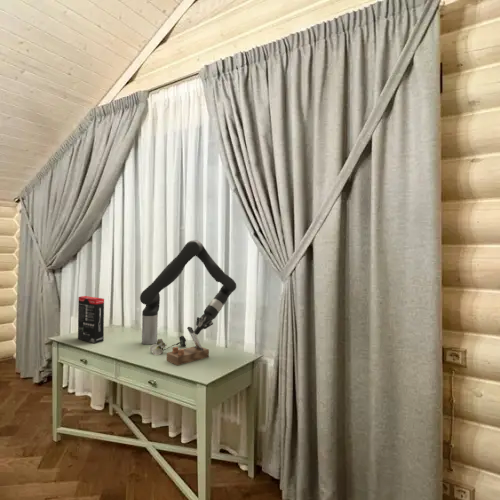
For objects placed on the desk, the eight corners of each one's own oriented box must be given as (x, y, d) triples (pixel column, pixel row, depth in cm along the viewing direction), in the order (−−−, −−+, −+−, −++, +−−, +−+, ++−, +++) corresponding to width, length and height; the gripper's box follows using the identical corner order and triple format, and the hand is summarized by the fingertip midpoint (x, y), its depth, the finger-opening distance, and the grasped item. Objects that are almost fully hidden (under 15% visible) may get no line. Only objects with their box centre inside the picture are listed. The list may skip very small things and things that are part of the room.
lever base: (197, 352, 190) (197, 341, 190) (208, 356, 183) (208, 344, 183) (166, 360, 175) (166, 347, 175) (177, 365, 168) (177, 352, 168)
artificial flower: (188, 350, 199) (190, 335, 197) (154, 362, 184) (154, 346, 181) (180, 342, 205) (182, 328, 203) (146, 354, 190) (147, 338, 187)
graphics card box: (104, 341, 209) (105, 297, 209) (94, 344, 203) (95, 299, 203) (86, 337, 217) (87, 295, 217) (76, 339, 211) (77, 296, 211)
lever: (197, 348, 185) (198, 346, 186) (200, 349, 183) (202, 347, 184) (187, 328, 180) (188, 326, 181) (190, 329, 178) (191, 327, 179)
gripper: (202, 303, 194) (184, 327, 185) (217, 306, 185) (199, 331, 176) (209, 311, 198) (192, 335, 189) (224, 314, 188) (206, 340, 180)
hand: (195, 333), depth 182 cm, fingers closed
